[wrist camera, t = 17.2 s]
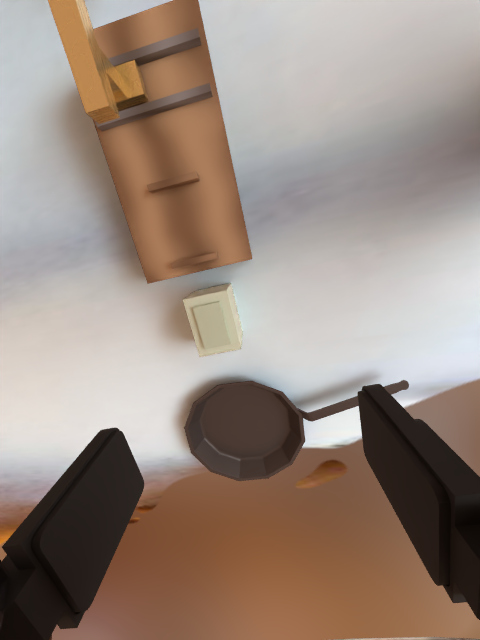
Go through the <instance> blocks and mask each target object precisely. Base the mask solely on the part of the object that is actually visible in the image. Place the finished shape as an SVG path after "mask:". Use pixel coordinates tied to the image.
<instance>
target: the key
mask: <svg viewBox="0 0 480 640" xmlns="http://www.w3.org/2000/svg"><path fill="white" fill-rule="evenodd" d="M48 2H49V5H50V8H51V11H52V14H53V17H54V20H55V23H56V26H57V29H58V32H59V35H60V38H61V40H62V43H63V46H64V49H65V52H66V55H67V58H68V61H69V64H70V67H71V70H72V73H73V76H74V79H75V82H76V85H77V88H78V91H79V94H80V97H81V100H82V103H83V106H84V108H85V111H86V113H87V114H88V115H89V116H90V117H91V118H93V119H94V120H95V121H96V122H97V123H99V124H102V123H105V122H108V121H111V120H114V119H117V118H120V115H119V112H118V110H121V109H124V108H127V107H130V106H133V105H136V104H140V103H143V102H146V101H148V97H147V93H146V90H145V86H144V83H143V79H142V75H141V72H140V68H139V67H138V65H137V63H136V62H135V60H133V61H130V62H127V63H124V64H121V65H118V66H115V67H114V66H113V65H112V64H111V62H110V61H109V60H108V58H107V57H106V56H105V54H104V53H103V51H102V50H101V49H100V47H99V46H98V44H97V40H96V37H95V34H94V31H93V27H92V24H91V21H90V18H89V14H88V11H87V8H86V5H85V1H84V0H48Z"/></svg>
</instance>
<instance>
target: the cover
mask: <svg viewBox="0 0 480 640" xmlns="http://www.w3.org/2000/svg"><path fill="white" fill-rule="evenodd" d="M183 303H184V306H185V309H186V313H187V316H188V319H189V323H190V326H191V329H192V333H193V336H194V339H195V343H196V346H197V349H198V353H199V356H200V357H203V356H208V355H213V354H218V353H223V352H228V351H233V350H238V349H241V345H242V335H243V331H242V327H241V323H240V319H239V314H238V310H237V306H236V302H235V298H234V293H233V289H232V285H231V283H229V284H224V285H220V286H215V287H211V288H207V289H202V290H198V291H194V292H193V293H192V294H190V295H189V296H187V297H186V298H185V299H183Z"/></svg>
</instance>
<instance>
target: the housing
mask: <svg viewBox="0 0 480 640" xmlns="http://www.w3.org/2000/svg"><path fill="white" fill-rule="evenodd" d="M93 31H94V34H95V37H96V40H97V44H98V46H99V47H100V49H101V50H102V51H103V53H104V54H105V56H106V57H107V58H108V60H109V61H110V62H111V64H112V65H113V66H114V67H115V66H118V65H121V64H124V63H127V62H130V61H133V60H135V62H136V63H137V65H138V67H139V68H140V72H141V75H142V79H143V83H144V86H145V90H146V93H147V97H148V101H146V102H143V103H140V104H136V105H133V106H130V107H127V108H124V109H121V110H118V112H119V115H120V118H117V119H114V120H111V121H108V122H105V123H102V124H99V123H97V122H96V121H95V120H94V119H93V121H94V124H95V127H96V130H97V133H98V136H99V139H100V142H101V145H102V148H103V151H104V154H105V157H106V160H107V163H108V166H109V169H110V172H111V175H112V178H113V181H114V184H115V187H116V190H117V193H118V196H119V199H120V202H121V205H122V208H123V211H124V214H125V217H126V220H127V223H128V226H129V229H130V232H131V235H132V238H133V241H134V244H135V247H136V250H137V253H138V256H139V259H140V262H141V265H142V268H143V271H144V274H145V277H146V280H147V283H153V282H157V281H161V280H165V279H169V278H174V277H178V276H182V275H186V274H191V273H195V272H199V271H203V270H208V269H212V268H216V267H220V266H225V265H229V264H233V263H237V262H241V261H246V260H250V259H252V255H251V250H250V245H249V240H248V236H247V231H246V226H245V221H244V216H243V212H242V207H241V202H240V197H239V193H238V188H237V183H236V178H235V174H234V169H233V164H232V159H231V155H230V150H229V145H228V140H227V136H226V131H225V126H224V121H223V117H222V112H221V107H220V102H219V97H218V93H217V88H216V83H215V78H214V74H213V69H212V64H211V59H210V55H209V50H208V45H207V40H206V36H205V31H204V26H203V21H202V17H201V12H200V7H199V2H198V0H173V1H170V2H168V3H165V4H162V5H159V6H156V7H154V8H151V9H148V10H145V11H143V12H140V13H137V14H134V15H131V16H129V17H126V18H123V19H120V20H118V21H115V22H112V23H109V24H106V25H104V26H101V27H98V28H95V29H93Z"/></svg>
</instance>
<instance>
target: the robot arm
mask: <svg viewBox="0 0 480 640" xmlns="http://www.w3.org/2000/svg"><path fill="white" fill-rule="evenodd" d="M358 402H359V411H360V420H361V429H362V439H363V448H364V453H365V456H366V459H367V461H368V463H369V465H370V466H371V468H372V470H373V472H374V474H375V476H376V478H377V479H378V481H379V483H380V485H381V487H382V489H383V490H384V492H385V494H386V496H387V498H388V500H389V501H390V503H391V505H392V507H393V509H394V510H395V512H396V514H397V516H398V518H399V520H400V521H401V523H402V525H403V527H404V529H405V531H406V533H407V534H408V536H409V538H410V540H411V541H412V543H413V545H414V547H415V549H416V551H417V552H418V554H419V556H420V558H421V560H422V561H423V563H424V565H425V567H426V569H427V571H428V573H429V575H430V576H431V578H432V580H433V581H434V583H435V584H436V585H438V586H440V585H443V586H444V588H445V590H446V592H447V593H448V595H449V597H450V598H451V600H452V602H453V603H461V602H467V603H468V604H469V606H470V607H471V609H472V611H473V612H474V614H475V615H476V617H477V618H478V619H479V620H480V477H479V476H478V475H477V474H476V473H475V472H474V471H473V470H472V469H471V468H470V467H469V466H468V465H467V464H466V463H465V462H464V461H463V460H462V459H461V458H460V457H459V456H458V455H457V454H456V453H455V452H454V451H453V450H452V449H451V448H450V447H449V446H448V445H447V444H446V443H445V442H444V441H443V440H442V439H441V438H440V437H439V436H438V435H437V434H436V433H435V432H434V431H433V430H432V429H431V428H430V427H429V426H428V425H427V424H426V423H425V422H423V421H422V420H420V419H413V418H412V417H411V416H410V415H409V413H408V412H406V410H405V409H404V408H403V407H402V406H401V405H400V404H399V403H398V402H397V401H396V400H395V399H394V398H393V397H392V396H391V395H390V394H389V393H388V392H387V390H386V389H385V388H384V387H383V386H382V385H380V384H375V385H369V386H363V387H362V391H359V392H358ZM143 489H144V480H143V477H142V475H141V473H140V471H139V468H138V466H137V464H136V461H135V459H134V457H133V455H132V452H131V450H130V448H129V445H128V443H127V441H126V439H125V436H124V434H123V432H122V431H119V429H118V428H110V429H104V430H101V431H100V432H98V434H97V435H96V436H95V437H94V438H93V440H92V441H91V442H90V443H89V444H88V445H87V447H86V448H85V449H84V450H83V451H82V453H81V454H80V455H79V456H78V457H77V458H76V460H75V461H74V462H73V463H72V464H71V466H70V467H69V468H68V469H67V470H66V472H65V473H64V474H63V475H62V476H61V477H60V479H59V480H58V481H57V482H56V483H55V485H54V486H53V487H52V488H51V489H50V491H49V492H48V493H47V494H46V495H45V496H44V498H43V499H42V500H41V501H40V502H39V504H38V505H37V506H36V507H35V508H34V509H33V511H32V512H31V513H30V514H29V515H28V517H27V518H26V519H25V520H24V521H23V523H22V524H21V525H20V526H19V527H18V528H17V530H16V531H15V532H14V533H13V534H12V536H11V537H10V538H9V539H8V540H7V541H6V543H5V544H4V545H3V546H2V548H3V549H4V551H5V552H6V554H7V556H6V557H5V558H4V559H3V561H2V562H1V560H0V640H52V632H53V631H54V629H55V627H56V625H58V626H59V628H60V629H66V628H77V627H78V625H79V623H80V621H81V619H82V616H83V614H84V612H85V611H86V610H88V608H89V607H90V605H91V604H92V602H93V600H94V597H95V595H96V593H97V591H98V588H99V586H100V584H101V582H102V580H103V578H104V575H105V573H106V571H107V569H108V567H109V564H110V562H111V560H112V558H113V556H114V553H115V551H116V549H117V547H118V545H119V542H120V540H121V538H122V536H123V533H124V531H125V529H126V527H127V525H128V523H129V520H130V518H131V516H132V514H133V512H134V509H135V507H136V505H137V503H138V501H139V498H140V496H141V494H142V492H143ZM338 640H480V639H463V638H442V637H414V638H366V639H338Z"/></svg>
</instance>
